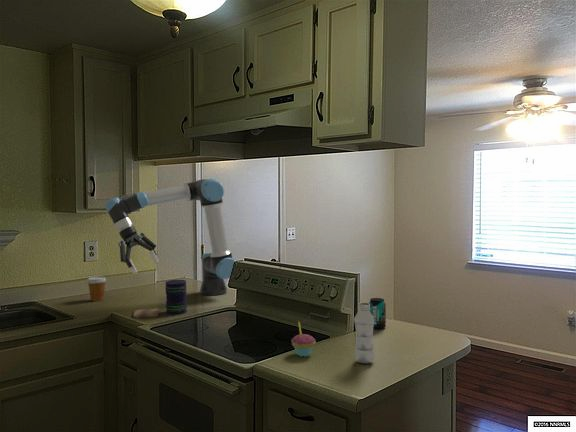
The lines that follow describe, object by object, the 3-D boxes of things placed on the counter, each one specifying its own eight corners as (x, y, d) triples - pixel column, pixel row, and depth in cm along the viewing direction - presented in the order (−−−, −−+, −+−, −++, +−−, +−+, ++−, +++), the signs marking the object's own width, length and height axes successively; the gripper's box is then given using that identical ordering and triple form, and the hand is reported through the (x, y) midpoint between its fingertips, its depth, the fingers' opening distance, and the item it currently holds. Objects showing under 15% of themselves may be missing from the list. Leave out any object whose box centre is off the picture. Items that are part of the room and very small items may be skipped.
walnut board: (158, 310, 242) (158, 308, 242) (157, 316, 233) (157, 313, 233) (135, 312, 240) (135, 309, 240) (133, 317, 230) (133, 315, 230)
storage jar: (191, 311, 241) (190, 280, 240) (176, 316, 233) (175, 284, 232) (177, 308, 246) (176, 279, 245) (161, 313, 238) (160, 282, 237)
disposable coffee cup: (107, 301, 265) (106, 278, 264) (87, 302, 262) (87, 280, 261) (106, 297, 274) (105, 275, 273) (87, 299, 270) (87, 277, 270)
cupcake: (287, 355, 176) (286, 322, 176) (299, 348, 183) (299, 316, 183) (307, 360, 171) (307, 325, 171) (320, 353, 179) (319, 320, 178)
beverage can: (389, 328, 209) (389, 299, 208) (377, 330, 205) (376, 302, 204) (377, 324, 215) (377, 296, 214) (365, 326, 211) (365, 298, 210)
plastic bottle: (372, 366, 164) (372, 307, 163) (352, 364, 167) (352, 305, 165) (376, 360, 170) (376, 302, 169) (357, 358, 173) (356, 301, 171)
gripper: (141, 223, 252) (161, 261, 251) (100, 239, 232) (121, 279, 232) (149, 218, 247) (169, 256, 247) (108, 233, 227) (130, 275, 227)
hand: (146, 267), depth 239 cm, fingers open, 13 cm apart
